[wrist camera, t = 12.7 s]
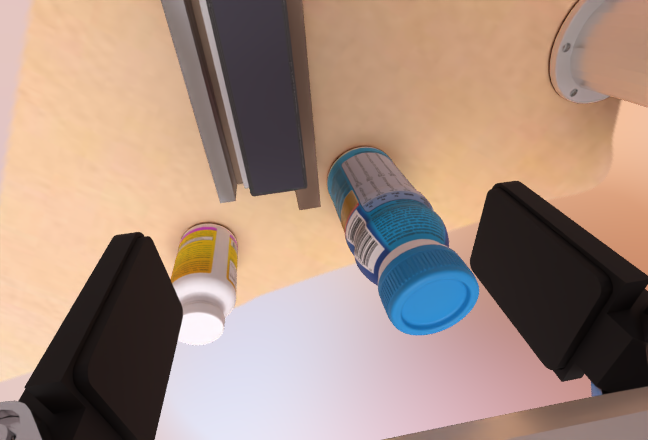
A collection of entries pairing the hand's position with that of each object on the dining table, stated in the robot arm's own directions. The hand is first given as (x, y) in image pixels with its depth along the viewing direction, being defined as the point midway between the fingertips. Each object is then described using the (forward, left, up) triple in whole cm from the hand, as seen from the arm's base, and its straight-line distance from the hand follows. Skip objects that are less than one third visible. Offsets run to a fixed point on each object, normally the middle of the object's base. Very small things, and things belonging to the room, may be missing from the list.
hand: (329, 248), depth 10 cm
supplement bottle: (+11, +19, -27) cm, 35 cm away
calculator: (+1, -1, -26) cm, 26 cm away
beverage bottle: (-8, +13, -27) cm, 31 cm away
